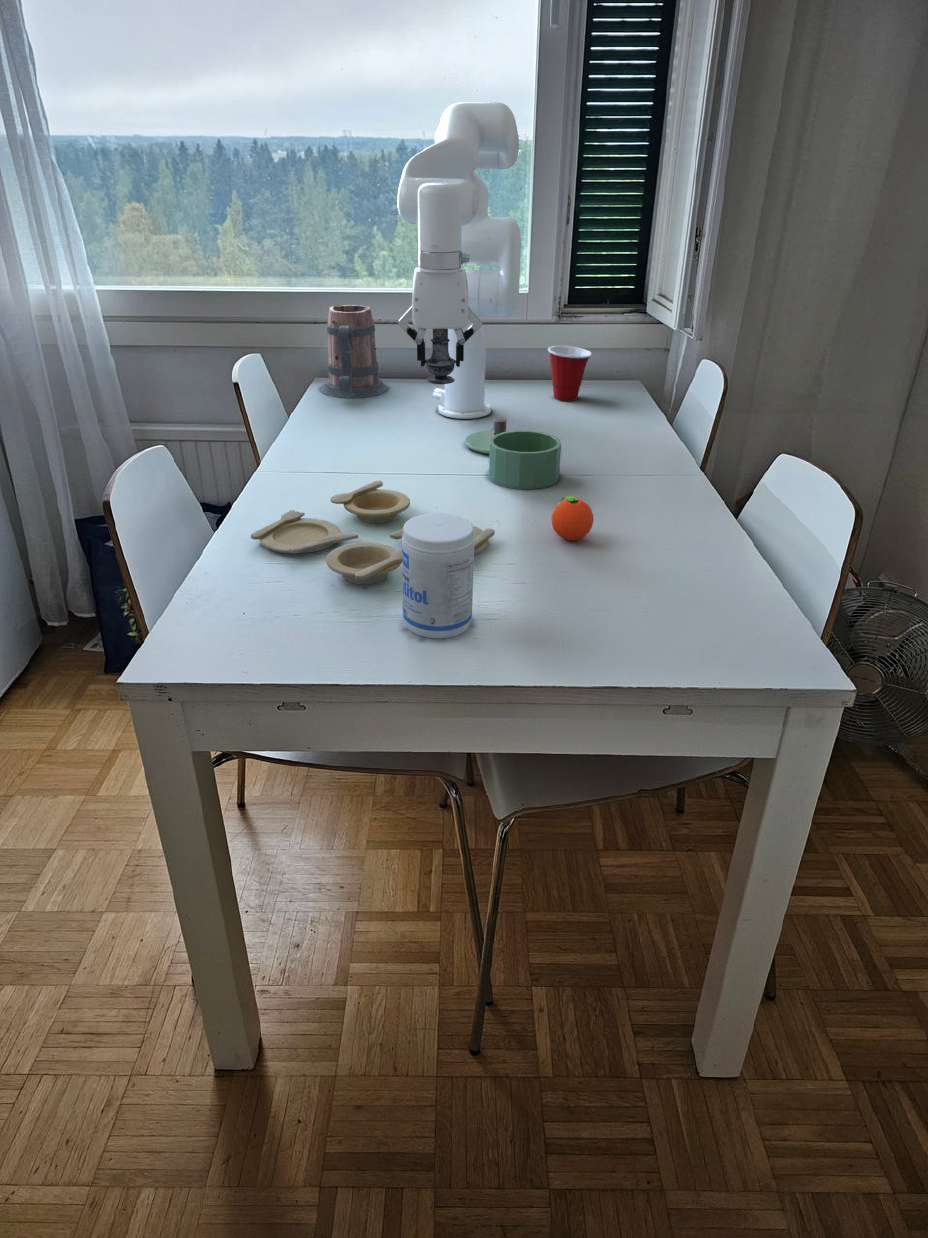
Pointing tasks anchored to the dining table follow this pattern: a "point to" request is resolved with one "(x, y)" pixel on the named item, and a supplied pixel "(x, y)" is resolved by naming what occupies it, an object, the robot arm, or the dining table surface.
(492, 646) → the dining table surface
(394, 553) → the tableware set
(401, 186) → the robot arm
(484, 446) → the lid
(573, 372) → the plastic cup
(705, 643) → the dining table surface
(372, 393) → the tankard
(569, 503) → the clementine
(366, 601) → the dining table surface
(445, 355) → the salt shaker
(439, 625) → the supplement tub
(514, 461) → the bowl
